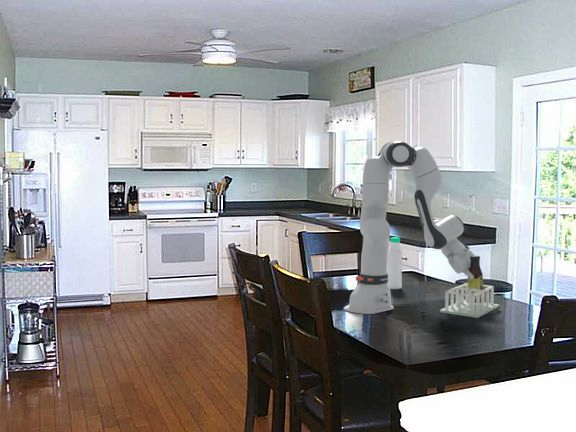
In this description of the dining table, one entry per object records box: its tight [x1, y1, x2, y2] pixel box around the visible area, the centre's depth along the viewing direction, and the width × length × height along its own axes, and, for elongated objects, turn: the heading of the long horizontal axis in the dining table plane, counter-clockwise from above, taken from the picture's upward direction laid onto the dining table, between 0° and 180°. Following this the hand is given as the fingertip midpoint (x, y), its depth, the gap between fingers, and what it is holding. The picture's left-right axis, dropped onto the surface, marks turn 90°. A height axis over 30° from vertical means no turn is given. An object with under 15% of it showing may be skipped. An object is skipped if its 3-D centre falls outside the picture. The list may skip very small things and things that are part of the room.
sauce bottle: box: [467, 255, 484, 303], centre depth 275 cm, size 7×6×20 cm
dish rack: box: [439, 282, 500, 319], centre depth 272 cm, size 25×16×9 cm, turn 143°
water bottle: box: [387, 236, 403, 290], centre depth 317 cm, size 7×7×25 cm
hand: (476, 277), depth 275 cm, fingers closed on sauce bottle, 6 cm apart
